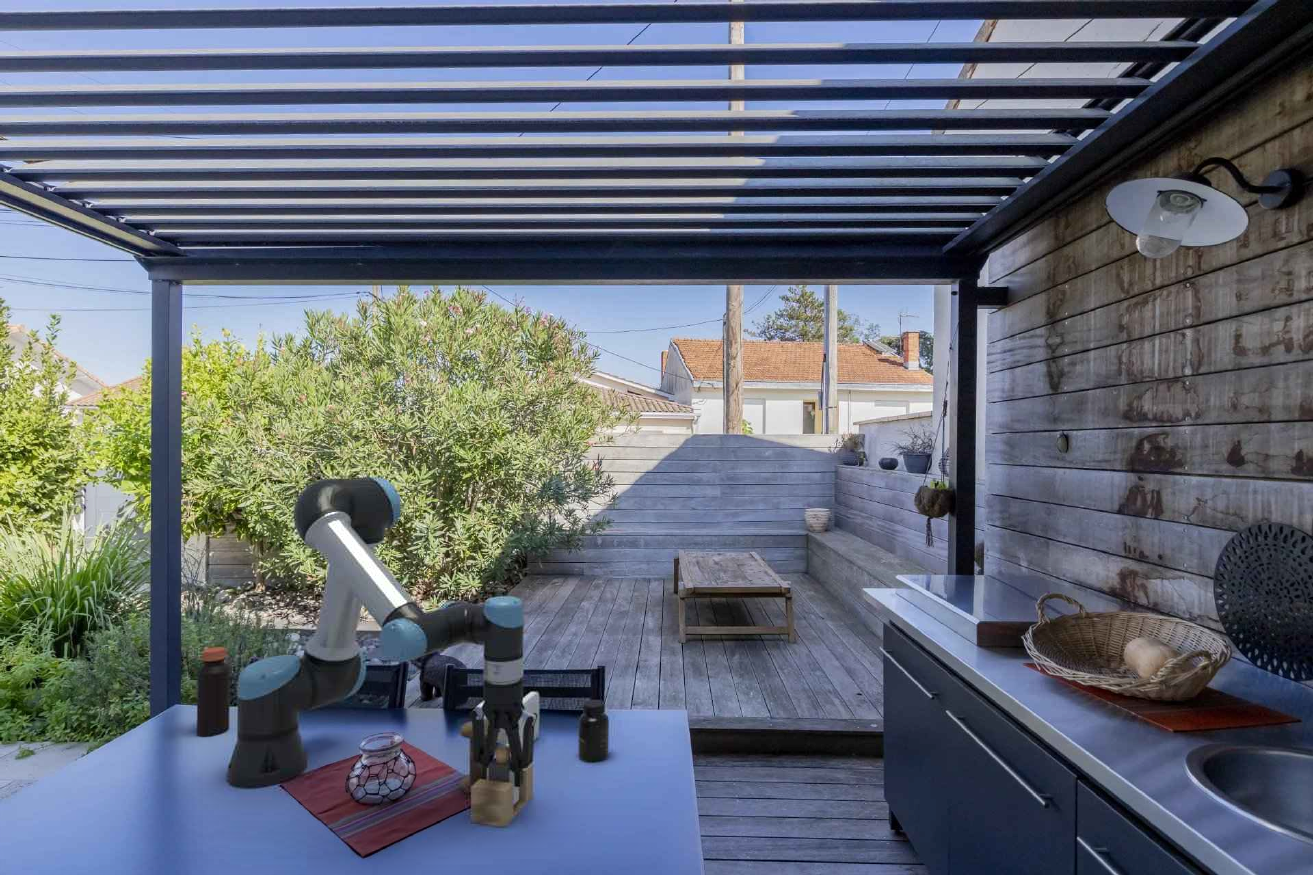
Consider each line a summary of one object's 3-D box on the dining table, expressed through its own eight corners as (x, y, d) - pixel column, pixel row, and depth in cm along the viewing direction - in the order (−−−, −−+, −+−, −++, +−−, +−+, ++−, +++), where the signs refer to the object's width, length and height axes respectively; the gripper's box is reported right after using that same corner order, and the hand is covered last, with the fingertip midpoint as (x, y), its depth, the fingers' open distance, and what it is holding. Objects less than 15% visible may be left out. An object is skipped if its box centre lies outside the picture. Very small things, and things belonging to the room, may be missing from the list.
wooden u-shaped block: (470, 822, 133) (471, 786, 133) (500, 792, 145) (500, 759, 145) (505, 827, 132) (505, 791, 132) (532, 796, 143) (532, 763, 143)
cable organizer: (514, 764, 158) (514, 711, 158) (470, 760, 160) (470, 707, 160) (540, 738, 173) (540, 689, 173) (499, 734, 175) (499, 686, 175)
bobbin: (453, 791, 145) (453, 731, 146) (472, 774, 153) (472, 717, 153) (489, 796, 143) (489, 735, 144) (507, 778, 151) (507, 721, 151)
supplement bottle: (572, 759, 160) (573, 705, 161) (587, 748, 167) (587, 696, 167) (600, 764, 158) (600, 710, 158) (613, 752, 164) (614, 700, 164)
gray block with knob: (488, 805, 137) (488, 751, 137) (498, 796, 141) (498, 742, 141) (507, 808, 136) (507, 753, 136) (516, 798, 140) (517, 744, 140)
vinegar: (198, 728, 178) (200, 647, 178) (230, 724, 180) (231, 644, 181) (194, 738, 171) (195, 654, 172) (227, 734, 174) (228, 651, 175)
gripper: (453, 681, 137) (452, 804, 137) (536, 688, 133) (535, 816, 133) (473, 669, 144) (472, 786, 144) (552, 676, 140) (551, 797, 140)
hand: (502, 800), depth 138 cm, fingers closed on gray block with knob, 4 cm apart
